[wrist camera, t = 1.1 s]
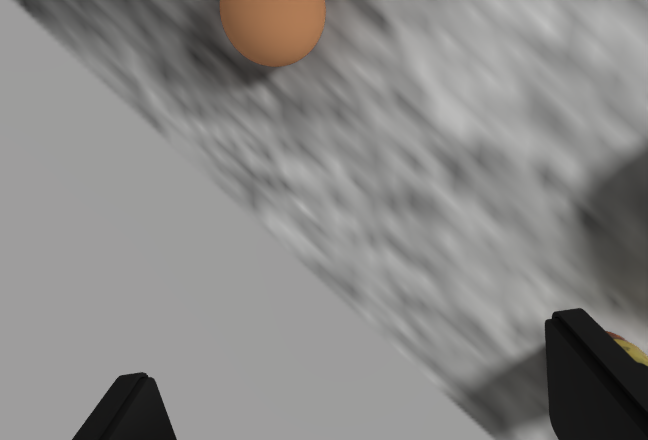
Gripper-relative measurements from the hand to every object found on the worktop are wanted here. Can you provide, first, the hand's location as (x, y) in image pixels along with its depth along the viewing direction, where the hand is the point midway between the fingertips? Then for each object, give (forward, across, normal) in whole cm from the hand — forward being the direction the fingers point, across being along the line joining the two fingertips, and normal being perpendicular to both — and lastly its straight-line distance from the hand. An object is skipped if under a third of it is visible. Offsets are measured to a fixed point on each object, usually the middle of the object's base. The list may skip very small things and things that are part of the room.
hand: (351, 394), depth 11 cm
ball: (+17, +2, -11) cm, 20 cm away
